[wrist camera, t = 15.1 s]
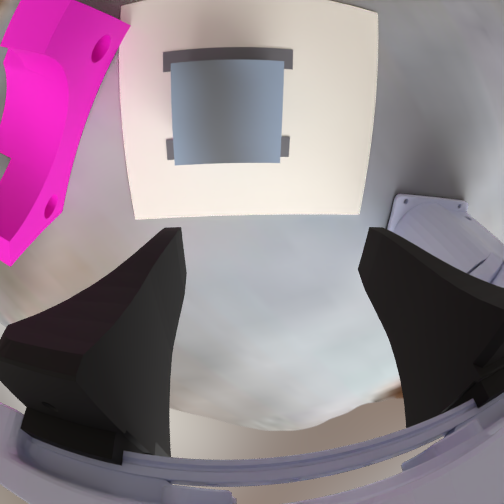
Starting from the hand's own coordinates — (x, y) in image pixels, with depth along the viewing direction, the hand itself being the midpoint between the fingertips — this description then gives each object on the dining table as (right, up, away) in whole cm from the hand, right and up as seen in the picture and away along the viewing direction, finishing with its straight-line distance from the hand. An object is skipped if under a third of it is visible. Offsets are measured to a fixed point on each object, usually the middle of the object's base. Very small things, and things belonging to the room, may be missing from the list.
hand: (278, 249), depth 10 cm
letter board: (-1, +9, +5) cm, 11 cm away
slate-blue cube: (-2, +9, +5) cm, 10 cm away
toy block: (-15, +10, +4) cm, 19 cm away
